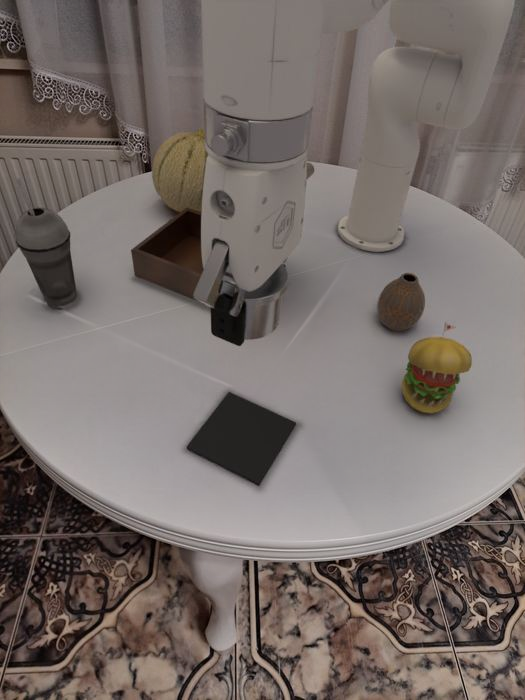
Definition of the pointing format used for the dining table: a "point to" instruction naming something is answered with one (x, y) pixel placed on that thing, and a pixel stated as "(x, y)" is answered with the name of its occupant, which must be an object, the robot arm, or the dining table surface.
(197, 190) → the cantaloupe
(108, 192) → the dining table surface
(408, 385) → the hamburger
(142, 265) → the chest
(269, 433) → the mat
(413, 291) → the vase
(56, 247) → the beverage cup
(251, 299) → the bowl
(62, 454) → the dining table surface
